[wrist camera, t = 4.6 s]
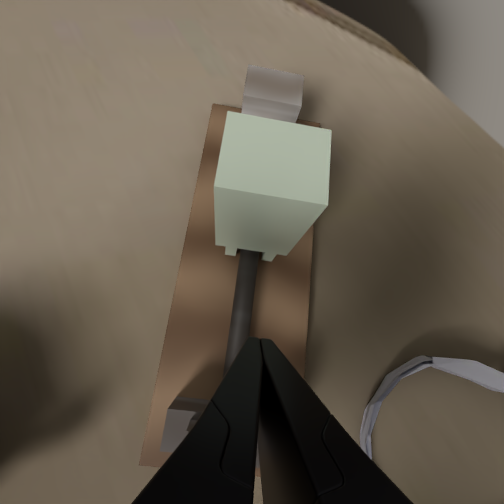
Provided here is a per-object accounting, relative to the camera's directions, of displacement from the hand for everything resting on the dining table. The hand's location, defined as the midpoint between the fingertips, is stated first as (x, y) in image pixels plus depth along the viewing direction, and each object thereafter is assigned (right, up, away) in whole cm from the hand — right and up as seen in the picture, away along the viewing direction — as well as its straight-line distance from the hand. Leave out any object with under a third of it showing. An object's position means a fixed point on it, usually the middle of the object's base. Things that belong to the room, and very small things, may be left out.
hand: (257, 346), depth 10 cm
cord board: (-1, +2, +13) cm, 13 cm away
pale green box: (0, +5, +13) cm, 13 cm away
